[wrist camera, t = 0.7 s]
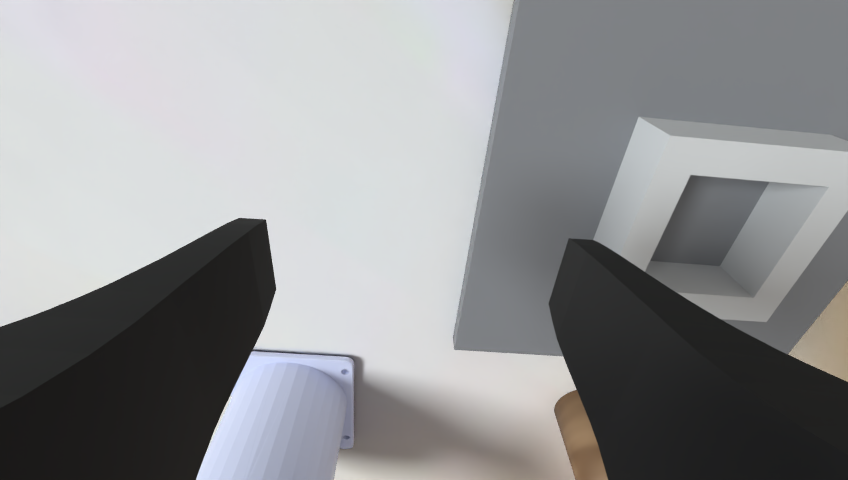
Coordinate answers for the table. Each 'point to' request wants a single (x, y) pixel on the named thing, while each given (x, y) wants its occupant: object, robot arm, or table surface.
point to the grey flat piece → (665, 161)
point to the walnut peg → (579, 438)
